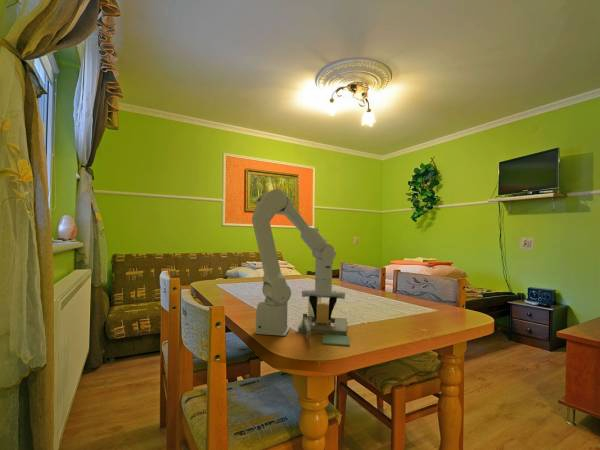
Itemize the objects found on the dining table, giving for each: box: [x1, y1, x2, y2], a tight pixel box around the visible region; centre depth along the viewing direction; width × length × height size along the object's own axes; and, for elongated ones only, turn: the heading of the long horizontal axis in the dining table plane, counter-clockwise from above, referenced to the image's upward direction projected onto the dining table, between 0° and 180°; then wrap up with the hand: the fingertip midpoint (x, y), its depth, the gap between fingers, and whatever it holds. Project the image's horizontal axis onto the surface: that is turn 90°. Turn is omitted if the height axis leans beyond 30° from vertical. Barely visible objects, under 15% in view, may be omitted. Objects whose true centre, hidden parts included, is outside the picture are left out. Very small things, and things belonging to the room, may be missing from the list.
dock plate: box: [297, 315, 348, 336], centre depth 96 cm, size 15×14×1 cm
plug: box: [314, 301, 332, 326], centre depth 99 cm, size 5×5×7 cm
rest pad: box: [321, 334, 351, 347], centre depth 84 cm, size 8×7×1 cm
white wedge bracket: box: [307, 297, 322, 316], centre depth 107 cm, size 4×10×9 cm
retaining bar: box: [302, 313, 312, 340], centre depth 88 cm, size 15×1×3 cm, turn 3°
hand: (322, 318), depth 99 cm, fingers closed on plug, 4 cm apart
